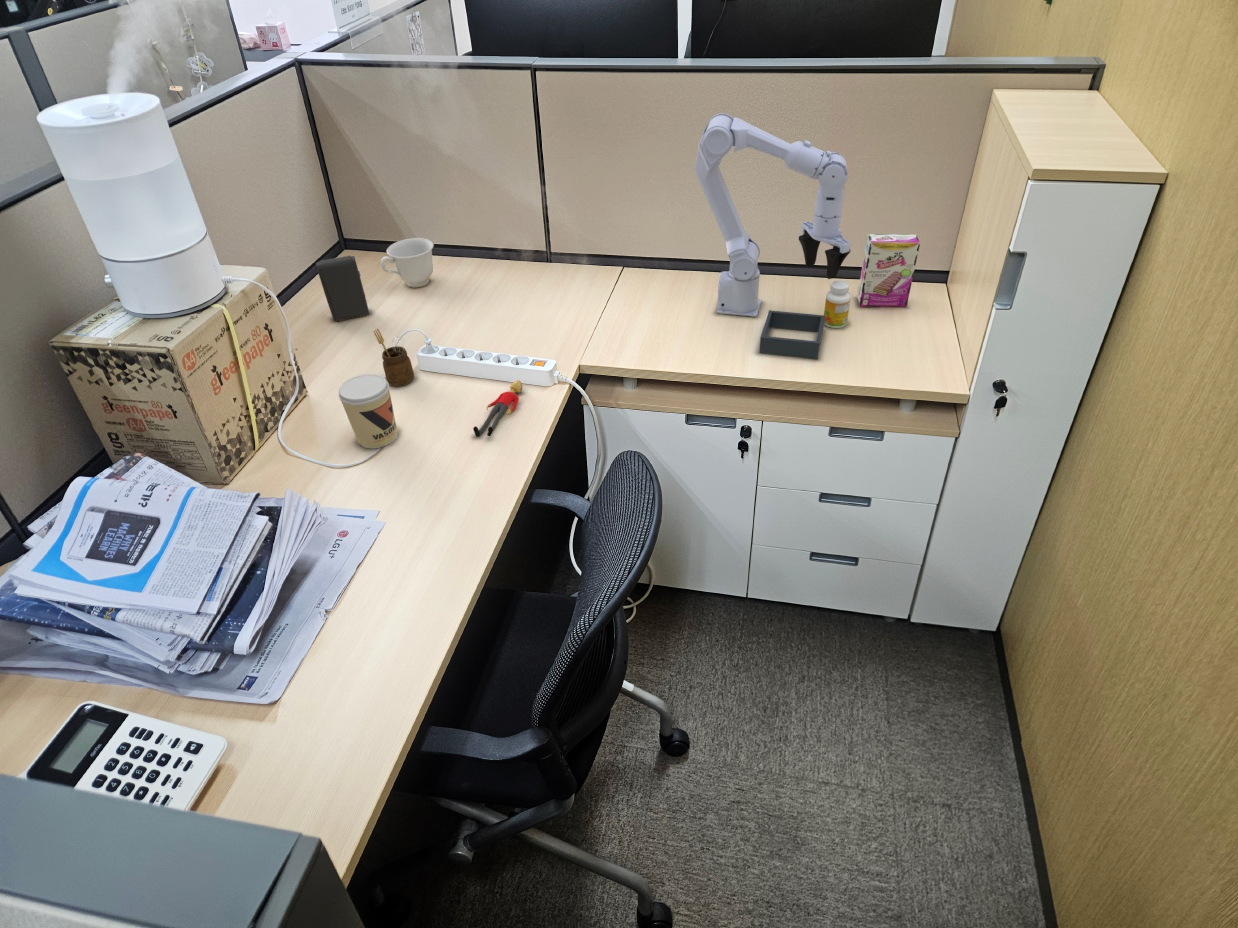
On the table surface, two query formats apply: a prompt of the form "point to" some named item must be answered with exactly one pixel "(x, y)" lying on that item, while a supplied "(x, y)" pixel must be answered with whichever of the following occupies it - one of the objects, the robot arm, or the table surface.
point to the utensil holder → (396, 363)
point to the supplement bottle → (837, 305)
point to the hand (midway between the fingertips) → (820, 271)
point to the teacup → (411, 260)
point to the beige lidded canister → (369, 409)
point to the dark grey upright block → (343, 287)
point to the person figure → (500, 408)
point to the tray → (792, 345)
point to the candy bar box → (888, 270)
